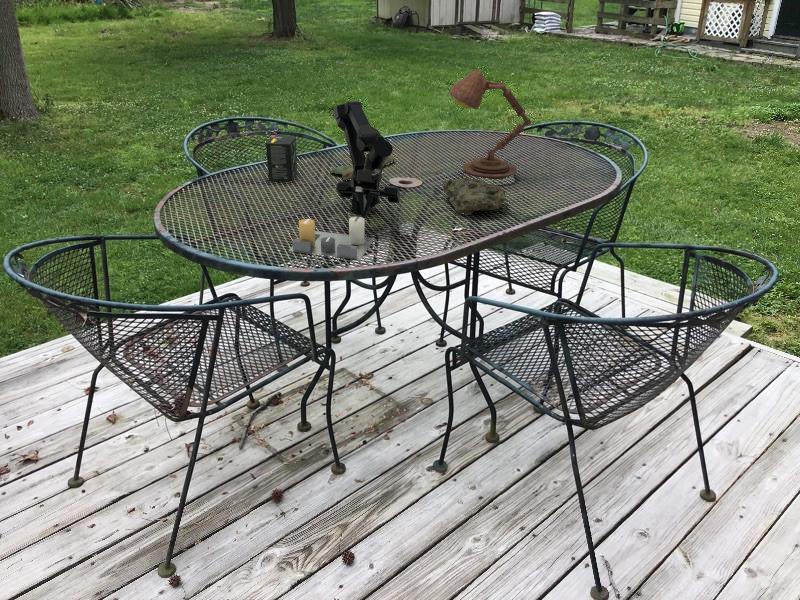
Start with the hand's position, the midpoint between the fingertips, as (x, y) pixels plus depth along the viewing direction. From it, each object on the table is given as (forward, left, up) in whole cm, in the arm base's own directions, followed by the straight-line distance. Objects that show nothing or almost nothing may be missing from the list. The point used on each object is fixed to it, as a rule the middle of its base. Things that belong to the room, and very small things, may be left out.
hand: (363, 218), depth 192 cm
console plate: (+11, -1, -7) cm, 13 cm away
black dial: (+15, +1, -5) cm, 16 cm away
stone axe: (-47, -48, -7) cm, 68 cm away
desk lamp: (-77, -11, -7) cm, 78 cm away
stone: (-48, +6, -7) cm, 49 cm away
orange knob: (+17, -5, -5) cm, 19 cm away
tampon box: (-20, -63, -7) cm, 67 cm away
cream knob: (+5, +3, -5) cm, 8 cm away
